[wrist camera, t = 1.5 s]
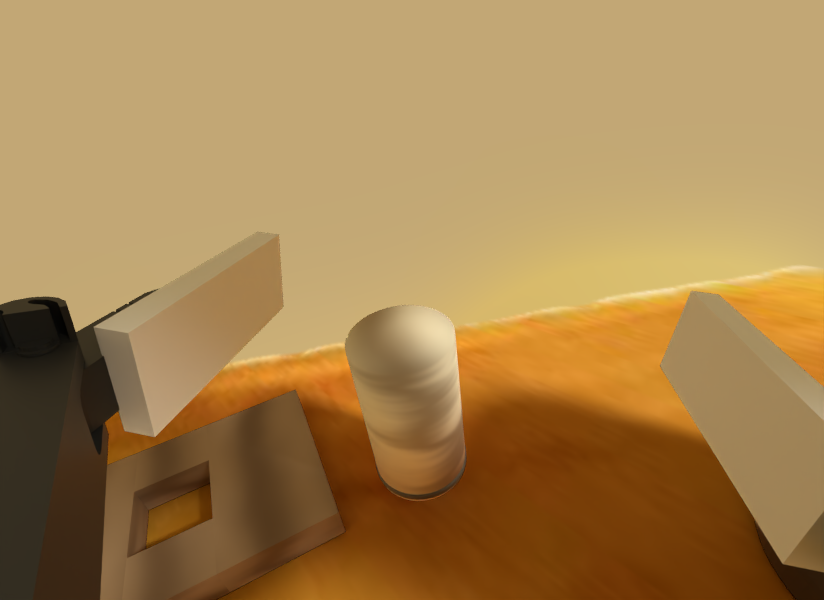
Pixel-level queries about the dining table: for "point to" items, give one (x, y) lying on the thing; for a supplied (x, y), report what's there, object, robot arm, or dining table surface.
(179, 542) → the walnut board
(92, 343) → the robot arm
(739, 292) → the dining table surface
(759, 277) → the dining table surface
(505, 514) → the dining table surface
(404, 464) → the ash leg
